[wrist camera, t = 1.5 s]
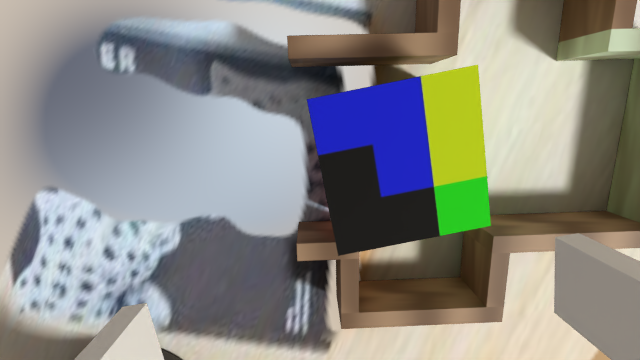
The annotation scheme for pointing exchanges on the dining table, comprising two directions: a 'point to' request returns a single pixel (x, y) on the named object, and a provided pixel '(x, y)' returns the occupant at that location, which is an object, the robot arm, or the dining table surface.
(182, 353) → the dining table surface
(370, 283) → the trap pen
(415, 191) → the puzzle toy
